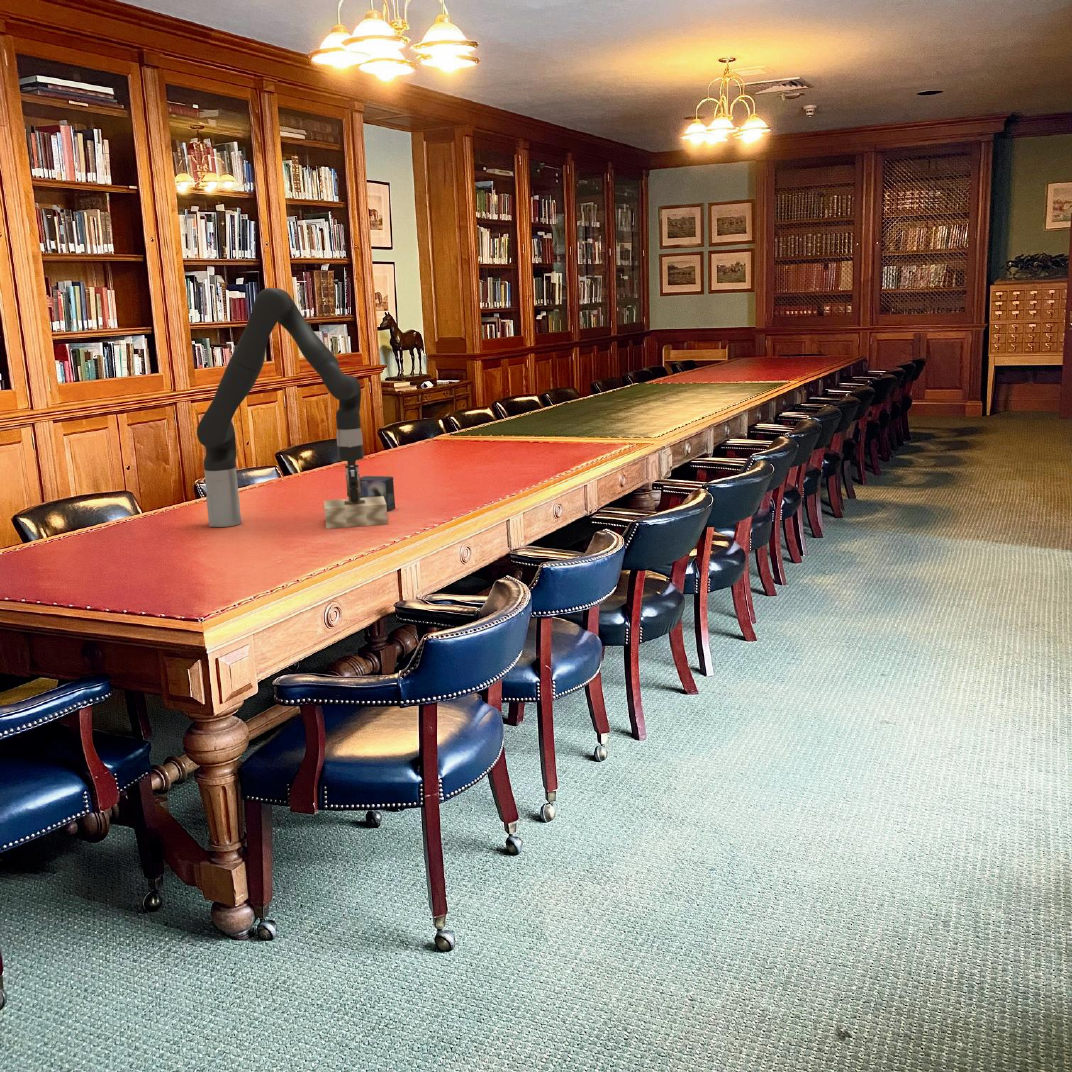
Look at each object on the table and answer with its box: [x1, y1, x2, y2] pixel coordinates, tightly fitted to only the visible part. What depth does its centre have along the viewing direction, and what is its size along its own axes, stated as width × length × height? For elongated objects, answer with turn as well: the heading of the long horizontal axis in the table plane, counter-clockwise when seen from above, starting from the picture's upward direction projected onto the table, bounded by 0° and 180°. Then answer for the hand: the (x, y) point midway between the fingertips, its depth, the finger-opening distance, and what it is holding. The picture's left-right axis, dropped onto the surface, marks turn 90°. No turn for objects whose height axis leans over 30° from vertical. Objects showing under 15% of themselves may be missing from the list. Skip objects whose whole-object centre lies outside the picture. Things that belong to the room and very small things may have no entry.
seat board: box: [323, 496, 389, 530], centre depth 319 cm, size 18×14×6 cm
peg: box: [345, 473, 361, 505], centre depth 318 cm, size 4×4×12 cm
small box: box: [360, 475, 396, 513], centre depth 336 cm, size 11×6×10 cm, turn 73°
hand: (354, 500), depth 318 cm, fingers closed on peg, 4 cm apart
